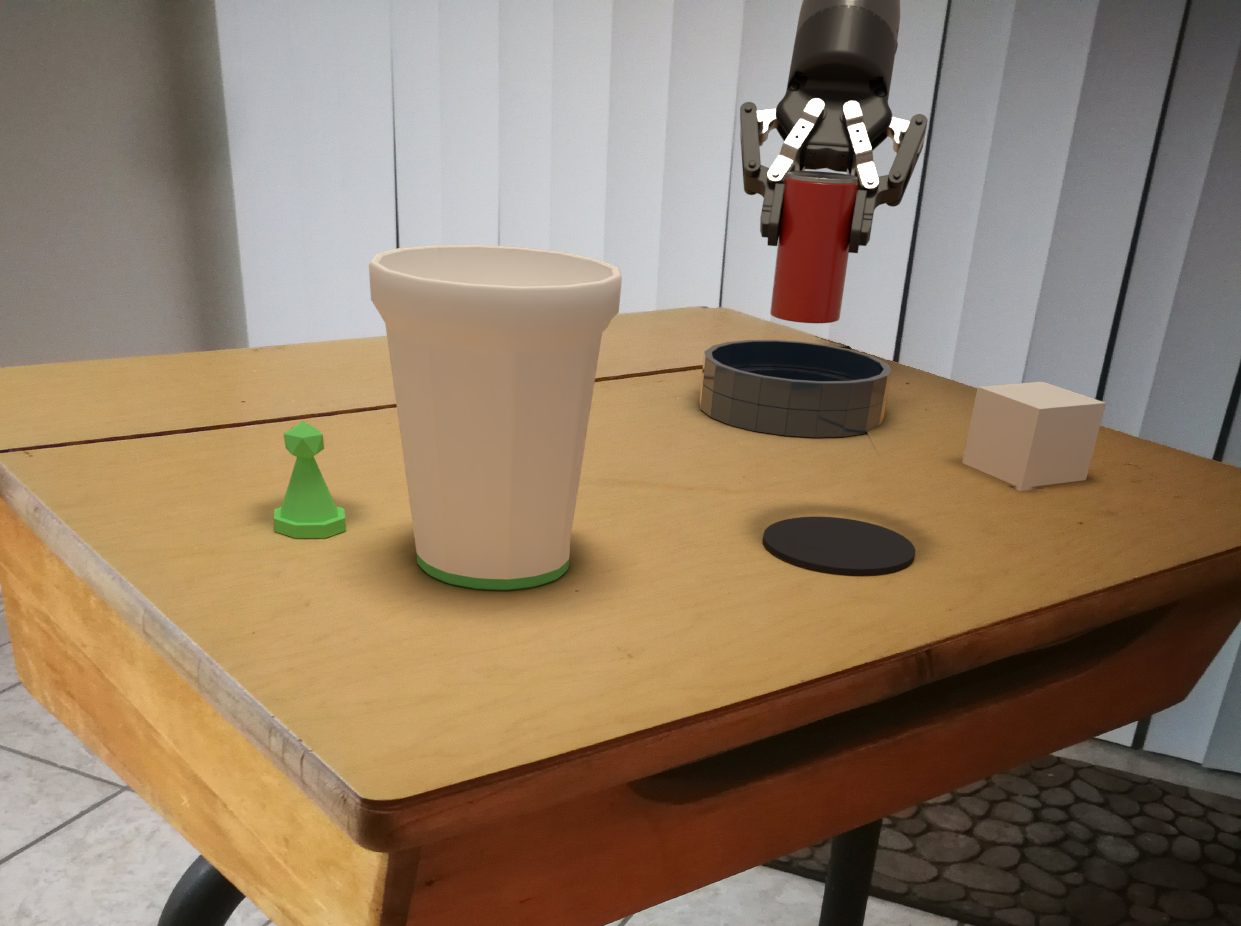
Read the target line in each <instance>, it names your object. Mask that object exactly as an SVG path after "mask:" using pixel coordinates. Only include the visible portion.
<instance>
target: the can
mask: <svg viewBox="0 0 1241 926" xmlns="http://www.w3.org/2000/svg"><path fill="white" fill-rule="evenodd" d="M857 180H858V177H856V176H853V175H848V174H847V173H842V172H831V171H817V170H805V171H791V172H788V173H787V177H786V178H785V186H784V196H783V205H782V213H781V222H780V231H779V238H778V244H777V248H776V258H775V266H774V267H775V268H774V275H773V276H774V278H773V286H772V294H771V301H770V302H771V304H770V311H769V313H770V315H771V316H772V317H774V318H776V319H778V320H782V321H787V322H794V323H801V324H802V323H803V324H831V323H835V322H838V321H839V320H840V319H841V312H842V311H841V310H842V306H843V305H842V304H843V296H844V290H845V283H846V277H847V276H846V275H847V268H848V261H849V254H850V253H848V250H849V242H850V234H851V228H852V221H853V215H854V208H855V202H856V195H857V190H858V182H857Z"/></svg>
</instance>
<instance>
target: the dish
mask: <svg viewBox="0 0 1241 926" xmlns="http://www.w3.org/2000/svg"><path fill="white" fill-rule="evenodd" d="M701 369H702V370H701V380H700V391H699V401H698V402H699V409H700V410H701V412H703V413H704V414H706V415H707V416H708V417H710V418H712V419H713V420H716V421H718V422H721V423H724V424H727V425H728V426H732V427H736V428H739V429H740V428H741V429H743V430H746V431H747V430H748V431H752V432H757V433H763V434H770V435H776V436H783V437H784V436H785V437H796V438H797V437H799V438H814V439H819V438H821V439H822V438H845V437H852V436H858V435H864V434H867V433H868V431H871V430H873V429H876V428H878V427H880V426H881V424H882V423H883V421H884V418H885V412H886V408H887V407H886V406H887V401H888V394H889V389H890V383H891V378H892V371H893V370H892V367H890V365H889V364H888V363H887V362H885V361H884V360H881V359H879V358H878V357H876V356H874V355H870V354H868V353H864V352H861V351H857V350H854V349H849V348H845V347H840V346H836V345H831V344H824V343H816V342H809V341H808V342H807V341H798V340H784V339H781V340H780V339H746V340H745V339H743V340H735V341H734V340H733V341H727V342H721V343H718V344H713V345H711V346H710V347H708V348H707V349H705V350H704V351H703V358H702V368H701Z"/></svg>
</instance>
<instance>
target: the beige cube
mask: <svg viewBox="0 0 1241 926" xmlns="http://www.w3.org/2000/svg"><path fill="white" fill-rule="evenodd" d="M1106 404H1107V402H1105V401H1102V400H1099V399H1096V398H1093V397H1090V396H1087V395H1085V394H1080V393H1078V392H1075V391H1072V390H1069V389H1067V388H1063V387H1060V386H1057V385H1054V384H1051V383H1048V382H1045V381H1032V382H1022V383H1021V382H1020V383H1018V382H1017V383H1006V384H997V385H996V384H993V385H984V386H977V389H976V394H975V399H974V402H973V409H972V413H971V418H970V422H969V427H968V432H967V437H966V442H965V446H964V450H963V451H964V452H963V456H962V461H961V463H962V464H963V465H966V466H968V467H971V468H973V469H976V470H977V471H979V472H982V473H985V474H987V475H989V476H992V477H994V478H996V479H999V480H1001V481H1003V482H1005V483H1008V484H1010V485H1008V487H1009V488H1012V489H1013V490H1016V491H1019V492H1028V491H1035V490H1042V489H1044V486H1049V485H1050V486H1051V485H1058V484H1067V483H1074V482H1081V481H1087V477H1088V474H1089V470H1090V466H1091V462H1092V460H1093V459H1092V458H1093V455H1094V451H1095V447H1096V444H1097V439H1098V436H1099V432H1100V428H1101V424H1102V420H1103V417H1104V413H1105V408H1106ZM1042 486H1043V487H1042Z"/></svg>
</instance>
